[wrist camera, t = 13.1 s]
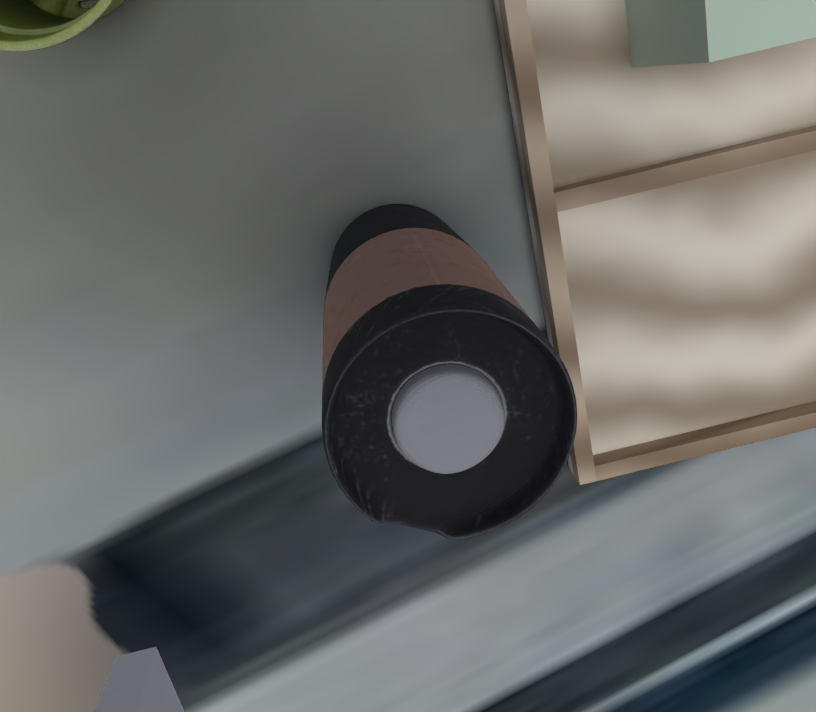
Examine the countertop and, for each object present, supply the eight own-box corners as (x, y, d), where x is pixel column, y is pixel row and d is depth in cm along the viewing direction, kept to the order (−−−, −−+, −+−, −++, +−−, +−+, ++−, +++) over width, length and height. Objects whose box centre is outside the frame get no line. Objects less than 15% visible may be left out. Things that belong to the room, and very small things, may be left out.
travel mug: (428, 171, 38) (518, 252, 19) (489, 296, 41) (621, 474, 22) (299, 241, 39) (266, 385, 20) (368, 359, 41) (396, 585, 23)
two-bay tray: (467, -159, 33) (476, -175, 31) (831, -244, 33) (863, -265, 31) (568, 466, 45) (580, 484, 43) (837, 401, 45) (861, 416, 43)
